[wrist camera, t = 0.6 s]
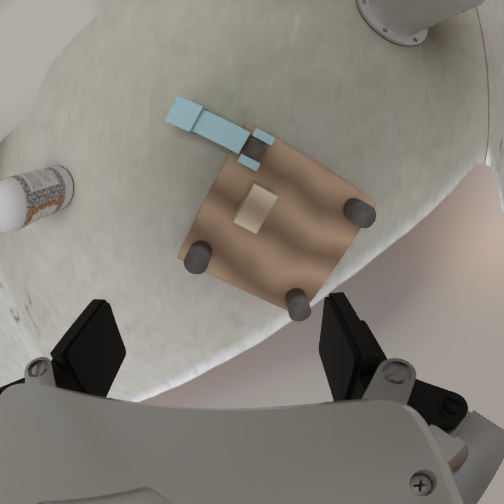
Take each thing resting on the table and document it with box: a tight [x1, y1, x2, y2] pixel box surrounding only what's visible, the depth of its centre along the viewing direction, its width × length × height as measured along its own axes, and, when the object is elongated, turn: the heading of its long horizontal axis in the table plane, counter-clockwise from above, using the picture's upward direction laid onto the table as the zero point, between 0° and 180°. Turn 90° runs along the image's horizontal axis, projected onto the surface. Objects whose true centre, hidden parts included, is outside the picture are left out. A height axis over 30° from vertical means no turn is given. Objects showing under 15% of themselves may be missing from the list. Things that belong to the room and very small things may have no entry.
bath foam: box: [0, 166, 73, 233], centre depth 25 cm, size 7×7×20 cm
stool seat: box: [177, 123, 376, 321], centre depth 34 cm, size 20×20×7 cm
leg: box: [164, 96, 275, 171], centre depth 29 cm, size 12×4×4 cm, turn 61°
